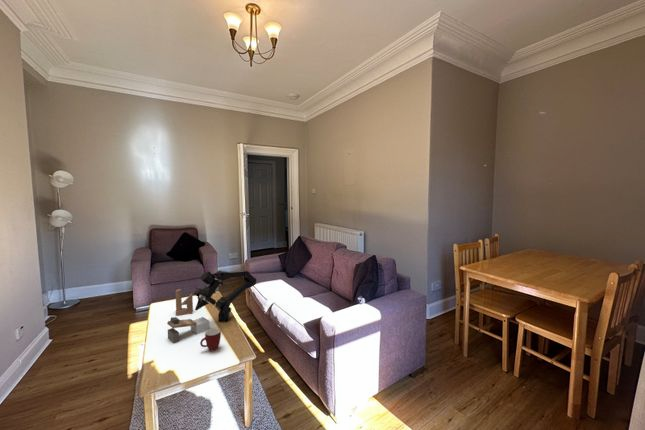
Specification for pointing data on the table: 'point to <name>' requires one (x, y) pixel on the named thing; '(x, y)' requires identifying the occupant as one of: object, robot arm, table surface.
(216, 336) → the mug
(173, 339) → the gray rectangular block
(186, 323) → the plank
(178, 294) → the wooden block
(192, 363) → the table surface
